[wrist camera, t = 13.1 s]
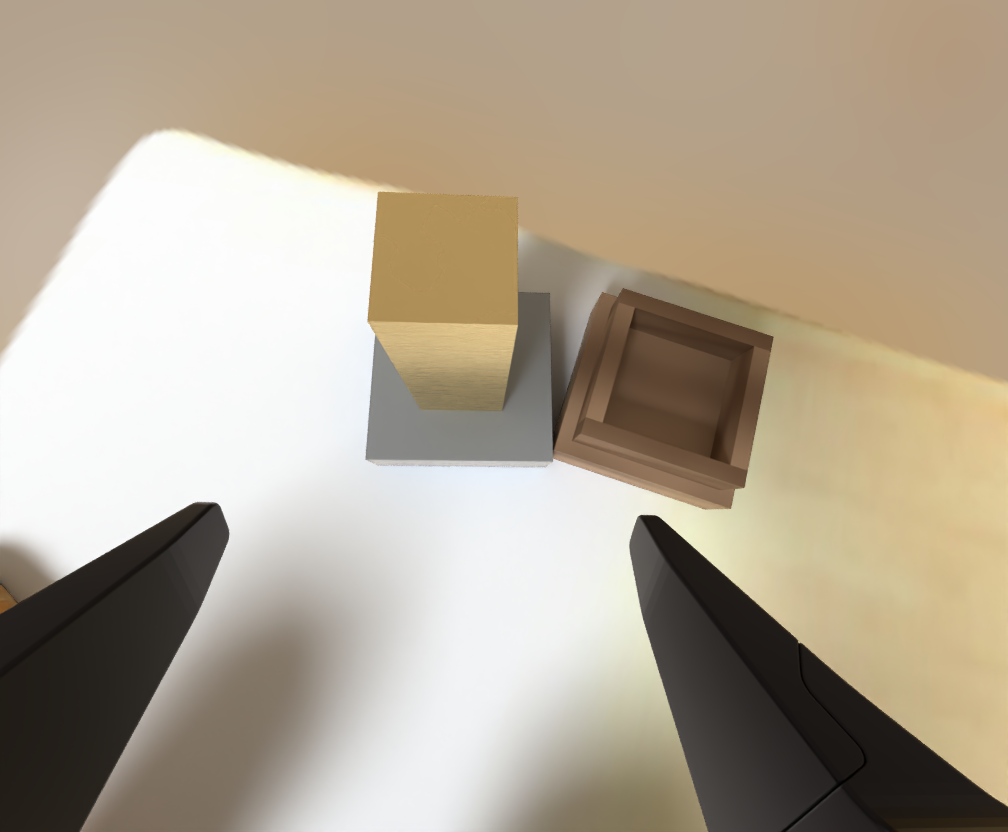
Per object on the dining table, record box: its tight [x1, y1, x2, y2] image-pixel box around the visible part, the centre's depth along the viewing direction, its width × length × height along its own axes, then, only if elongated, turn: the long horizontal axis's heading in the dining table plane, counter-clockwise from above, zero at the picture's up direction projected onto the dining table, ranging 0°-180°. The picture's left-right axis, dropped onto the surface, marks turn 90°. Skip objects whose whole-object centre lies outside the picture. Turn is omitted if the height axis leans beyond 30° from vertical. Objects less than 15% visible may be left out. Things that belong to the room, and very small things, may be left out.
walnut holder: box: [552, 288, 773, 509], centre depth 22 cm, size 9×9×4 cm
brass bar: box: [368, 192, 518, 411], centre depth 17 cm, size 4×4×10 cm
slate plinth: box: [365, 292, 553, 467], centre depth 23 cm, size 9×9×2 cm
